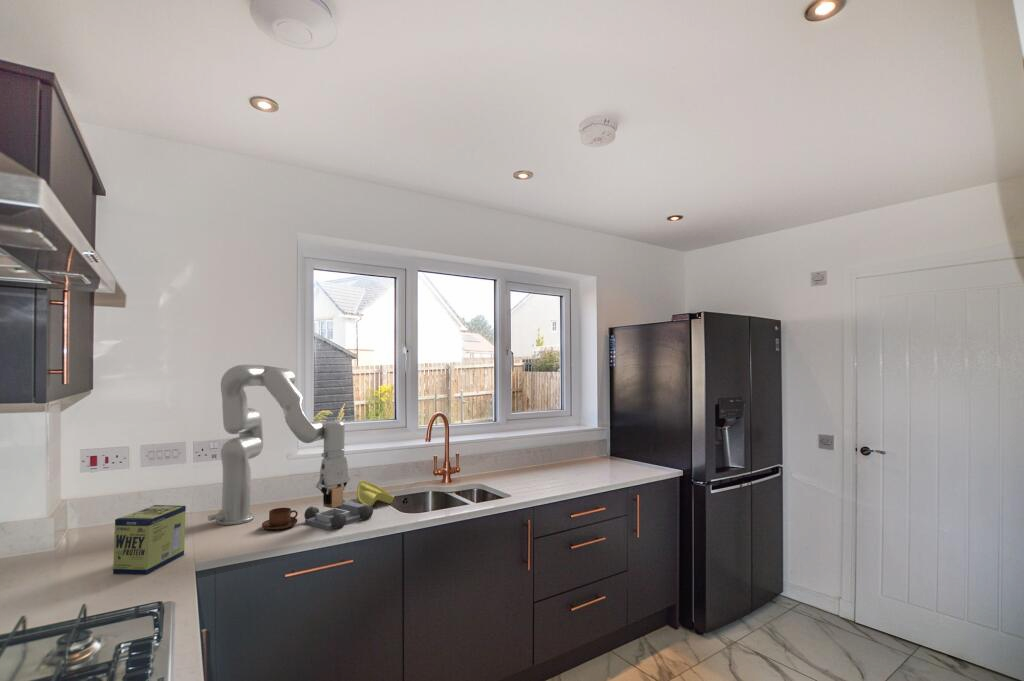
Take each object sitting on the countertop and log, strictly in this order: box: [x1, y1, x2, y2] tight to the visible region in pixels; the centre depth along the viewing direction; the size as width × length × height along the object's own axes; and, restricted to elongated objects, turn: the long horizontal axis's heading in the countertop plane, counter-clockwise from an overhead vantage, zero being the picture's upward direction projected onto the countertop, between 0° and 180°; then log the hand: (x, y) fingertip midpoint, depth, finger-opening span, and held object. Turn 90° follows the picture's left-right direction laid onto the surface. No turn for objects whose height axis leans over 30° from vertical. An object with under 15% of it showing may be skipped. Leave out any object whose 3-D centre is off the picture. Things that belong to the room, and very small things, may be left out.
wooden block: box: [322, 485, 344, 509], centre depth 191 cm, size 5×5×7 cm
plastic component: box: [356, 479, 395, 507], centre depth 221 cm, size 20×8×10 cm
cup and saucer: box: [261, 507, 299, 531], centre depth 185 cm, size 12×12×6 cm
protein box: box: [112, 504, 187, 576], centre depth 150 cm, size 10×16×16 cm
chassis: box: [303, 499, 374, 531], centre depth 193 cm, size 20×18×5 cm
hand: (333, 501), depth 191 cm, fingers closed on wooden block, 5 cm apart
